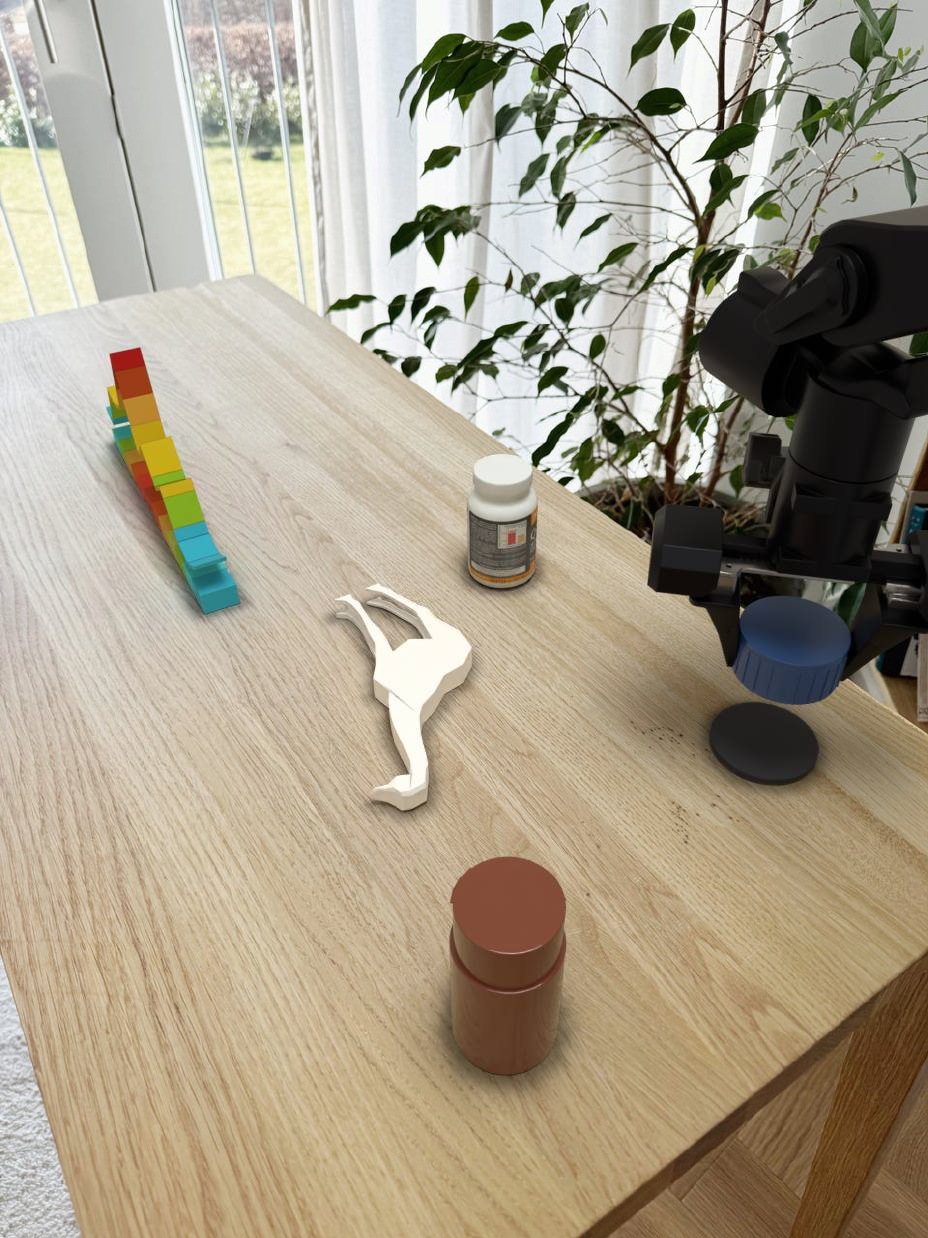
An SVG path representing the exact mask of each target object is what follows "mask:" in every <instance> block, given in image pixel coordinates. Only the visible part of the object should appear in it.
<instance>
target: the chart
mask: <svg viewBox="0 0 928 1238" xmlns="http://www.w3.org/2000/svg"><path fill="white" fill-rule="evenodd" d="M109 360H110V366H111V370H112V376H113V383H114V385H109V386H106V391H107V397H108V401H109V405H108V406H105V410H106V411H107V415H108V416H109V419H110V420H111V422H112V424H113V426H116V425H121V424H124V425H121V426H118V427H113V428H111V431H112V434H113V438H114V442H115V446H116V448H117V449H118V451H119V454H120V455H121V457H122V459H123V461H124V463H125V465H126V467H127V468H128V471H129V473H130V474H131V476H132V478H133V480H134V483H135V484H136V487H137V488H138V490H139V492H140V494H141V495H142V497H143V500H144V501H145V504H146V505H147V507H148V509H149V511H150V513H151V515H152V517H153V519H154V520H155V522H156V524H157V527H158V528H159V530H160V531H161V534H162V536H163V537H164V540H165V541H166V544H167V545H168V547H169V549H170V552H171V554H173V557H174V558H175V561H176V563H177V564H178V566H179V568H180V570H181V572H182V574H183V576H184V578H185V579H186V582H187V584H188V585H189V587H190V589H191V591H192V594H193V595H194V597H195V598H196V600H197V603H198V604H199V607H200V608H201V610H202V613H203V614H204V615H207V614H209V613H213V612H217V611H219V610H223V609H225V608H229V607H232V606H236V605H239V604H241V601H240V595H239V590H238V589H239V587H238V584H237V583H236V582H235V580H234V578H233V576H232V574H231V572H230V569H229V568H228V566H226V563H225V562H227V561H228V558H227V556H226V555H223V554H222V553H220V552H219V550H218V548H217V546H216V544H215V542H214V540H213V538H212V536H211V534H210V531H209V528H208V526H207V522H206V519H205V516H204V513H203V509H202V507H201V504H200V501H199V497H198V495H197V492H196V488H195V486H194V482H193V478H192V477H189V478H186V474H185V472H184V469H183V466H182V463H181V460H180V457H179V454H178V452H177V448H176V446H175V443H174V440H173V438H172V435H170V436H166V432H165V429H164V425H163V422H162V419H161V415H160V411H159V407H158V403H157V402H156V397H155V394H154V390H153V387H152V383H151V379H150V375H149V372H148V369H147V365H146V361H145V358H144V354H143V351H142V348H141V347H134V348H129V349H125V350H119V351H116V352H111V353H109ZM125 423H129V424H126V425H125Z"/></svg>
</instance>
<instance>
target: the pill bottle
mask: <svg viewBox="0 0 928 1238" xmlns="http://www.w3.org/2000/svg"><path fill="white" fill-rule="evenodd" d="M533 473H534V471H533V466H532V465H531V463H530V462H529V461H528V460H527V459H526V458H523V457H521V456H519V455H515V454H508V453H496V454H491V455H490V454H489V455H486V456H484V457H482V458H480V459H479V460H477V461H475V463H474V465H473V468H472V484H473V488H471V490H470V491H469V493H468V495H467V499H466V516H467V517H466V526H467V527H466V528H467V530H466V532H467V535H466V536H467V538H466V539H467V541H466V543H467V550H466V551H467V567H468V572H469V573H470V575H471V577H472V578H473V579H474V580H475V581H476V582H478V583H480V584H482V585H484V586H486V587H490V588H495V589H509V588H514V587H517V586H520V585H522V584H524V583H526V582H527V581H528V580H530V579H531V577H532V576H533V574H534V573H535V570H536V563H537V562H536V561H537V560H536V559H537V534H538V511H539V510H538V509H539V507H538V506H539V499H538V494H537V492H536V491H535V489H534V488H533V487H532V485H533V479H534V478H533V477H534V475H533Z"/></svg>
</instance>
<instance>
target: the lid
mask: <svg viewBox="0 0 928 1238" xmlns="http://www.w3.org/2000/svg"><path fill="white" fill-rule="evenodd" d="M849 630H850V628H849V626H848V625H847V623H846V622H845V621H844V620H843V619H842V618H841V616H840V615H838V614H837V613H836V612H834V611H833V610H831V609H830V608H828V607H827V606H825V605H824V604H821V603H819V602H817V601H813V600H810V599H807V598H802V597H798V596H791V595H773V596H766V597H763V598H760V599H758V600H755V601H753V602H752V603H750V604H749V605H747V606H746V607H745V608H744V609H743V611H742V612H741V613H740V620H739V634H738V649H737V657H736V660H735V662H734V664H733V666H732V667H731V669H732V672H733V674H734V676H735V677H736V679H737V680H738V681H739V682H740V684H742V686H743V687H745V688H746V689H747V690H748V691H749V692H751V693H753V694H755V695H756V696H758V697H760V698H763V699H765V700H766V701H767V700H768V701H770V702H774V703H776V704H783V705H788V706H805V705H812V704H815V703H819V702H821V701H824V700H826V699H827V698H828V697H830V696H831V695H833V693H834V692H835V691H836V689H837V688H839V685H840V682H841V681H840V679H841V676H842V673H843V670H844V667H845V664H846V661H847V658H848V657H847V655H848V652H849V650H850V645H851V634H850V631H849Z"/></svg>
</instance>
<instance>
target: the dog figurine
mask: <svg viewBox="0 0 928 1238" xmlns="http://www.w3.org/2000/svg"><path fill="white" fill-rule="evenodd" d="M365 592H370V593H374V594H378V595H382V596H385V597H387V598H388V599H390V600H392V601H394V602H395V603H397V604H399V605H401V606H403V607H404V608H406V609H408V610H410V611H411V612H412V613H414V614H415V615H416V616H415V615H413V614H412V613H409V612H407V611H406V610H404V609H402V608H400V607H398V606H396V605H395V604H393V603H392V602H390V601H387V600H384V599H382V597H381V596H378V597H376V598H373V599H370V600H368V601H366V605H368V606H372V607H376V608H380V609H384V610H386V611H388V612H390V613H392V614H394V615H395V616H397V617H399V618H401V619H402V620H404V621H406V622H408V623H409V624H411V625H412V626H414V627H415V628H416V629H417V631H418V632H419V634H420V636H421V637H422V638H409V639H407V640H406V641H405V642H403V643H402V644H401V645H400V646H398V647H397V648H396V649H394V650H393V649H392V647H391V645H390V643H389V641H388V638H387V637H386V636H385V634H384V633H383V632H382V631H381V629H380V628H379V627H378V625H376V624H375V623H374V622H373V620H372V619H371V618H370V616H369V615H368V614H367V612H366V611H365V609H364V608H363V606H362V604H361V603H360V601H358V600H356V599H354V597H353V596H352V595H351V593H349V594H346V595H343V596H341V597H338V598H334V605H337V606H346V607H348V608H347V609H343V610H341V611H340V612H336V613H335V617H336V619H343V620H345V619H346V620H348V621H350V622H351V623H353V624H354V626H355V627H357V629H358V630H359V632H360V633H361V634H362V636H363V637H364V640H365V642H366V644H367V646H368V648H369V650H370V652H371V654H372V656H373V657H374V659H375V668H374V672H373V678H372V679H373V691H374V692H373V693H374V698H375V699H377V700H378V701H379V702H380V703H381V704H383V706H385V707H386V708H388V713H389V723H390V729H391V734H392V739H393V741H394V745H395V747H396V750H397V752H398V754H399V755H400V758H401V760H402V761H403V764H404V766H405V768H406V770H407V772H408V774H400V775H396V776H394V778H393V779H391V780H390V782H388V783H387V784H384V785H381V786H376V787H372V788H373V789H372V790H371V791H370V793H369V796H370V798H372V800H375V801H380V802H384V803H388V804H390V805H392V806H393V807H396V808H397V809H398V810H400V811H401V812H403V811H409V810H412V809H414V808H416V807H418V806H420V805H422V804H424V803H425V802H427V801H428V793H429V784H430V774H429V773H430V771H429V770H430V769H429V761H428V757H427V753H426V750H425V746H424V742H423V738H422V730H423V726H424V724H425V723H426V722H427V721H428V719H429V718H430V717H432V715H433V714H434V713H435V712H436V710H437V708H438V707H439V704H440V703H441V701H442V700H443V697H444V696H445V694H447V693H449V692H450V691H452V690H454V689H455V688H457V687H459V686H461V685H463V684H464V682H465V681H466V678H467V676H468V674H469V672H470V670H471V668H472V667H473V647H472V644H470V643H469V642H468V639H466V638H465V636H464V635H463V634H462V632H461V630H459V629H458V628H457V627H454V626H452V625H450V624H448V623H446V622H445V621H443V620H441V619H439V618H437V617H436V616H435V615H434V614H433V613H432V611H431V610H430V609H429V608H428V607H425V606H422V605H421V604H418V603H415V602H414V601H411V600H410V599H408V598H406V597H405V596H402V595H400V594H398V593H396V592H395V591H394V590H392V589H390V588H389V587H385V586H382V585H381V584H380V582H377V583H375V584H373V585H371V586H367V587H365Z"/></svg>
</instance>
